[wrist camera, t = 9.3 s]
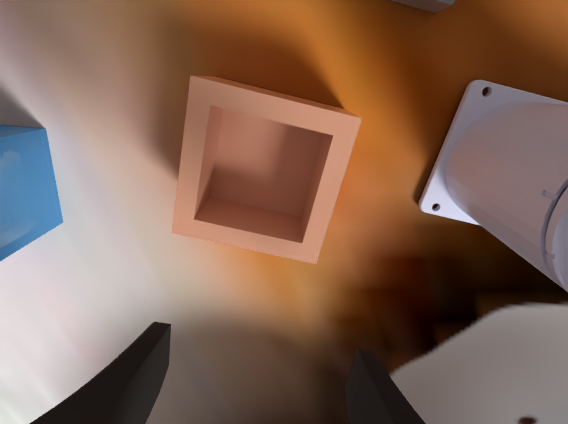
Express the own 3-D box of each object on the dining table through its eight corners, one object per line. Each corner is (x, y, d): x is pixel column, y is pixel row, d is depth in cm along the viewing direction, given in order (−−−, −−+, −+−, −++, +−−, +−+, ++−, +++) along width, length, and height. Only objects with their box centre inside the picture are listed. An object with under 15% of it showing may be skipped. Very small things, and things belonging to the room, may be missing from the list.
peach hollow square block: (344, 109, 19) (361, 118, 14) (310, 225, 22) (316, 264, 17) (215, 76, 19) (190, 75, 14) (197, 199, 21) (171, 232, 17)
